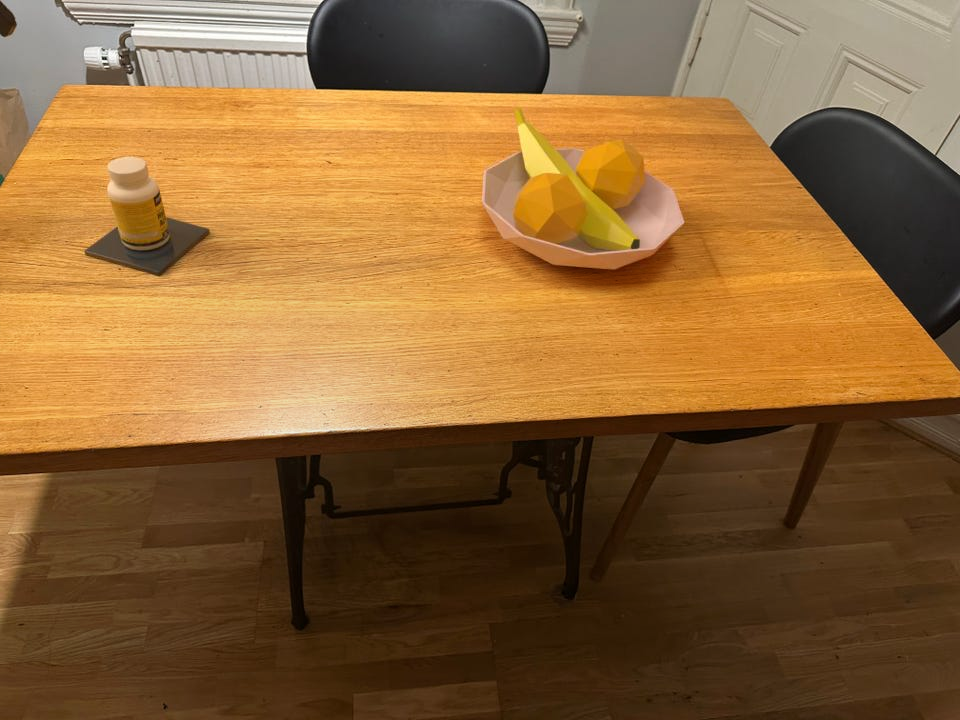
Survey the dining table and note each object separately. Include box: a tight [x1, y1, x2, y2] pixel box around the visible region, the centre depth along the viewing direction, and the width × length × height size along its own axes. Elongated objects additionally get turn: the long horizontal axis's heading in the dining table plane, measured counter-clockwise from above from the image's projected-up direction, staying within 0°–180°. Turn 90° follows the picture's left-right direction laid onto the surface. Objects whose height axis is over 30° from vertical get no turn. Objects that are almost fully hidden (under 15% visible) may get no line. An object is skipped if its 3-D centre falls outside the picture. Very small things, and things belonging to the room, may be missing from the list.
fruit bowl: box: [481, 108, 686, 270], centre depth 91 cm, size 28×27×11 cm
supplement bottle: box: [106, 156, 170, 250], centre depth 80 cm, size 5×5×10 cm
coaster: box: [83, 216, 211, 277], centre depth 84 cm, size 10×10×1 cm
